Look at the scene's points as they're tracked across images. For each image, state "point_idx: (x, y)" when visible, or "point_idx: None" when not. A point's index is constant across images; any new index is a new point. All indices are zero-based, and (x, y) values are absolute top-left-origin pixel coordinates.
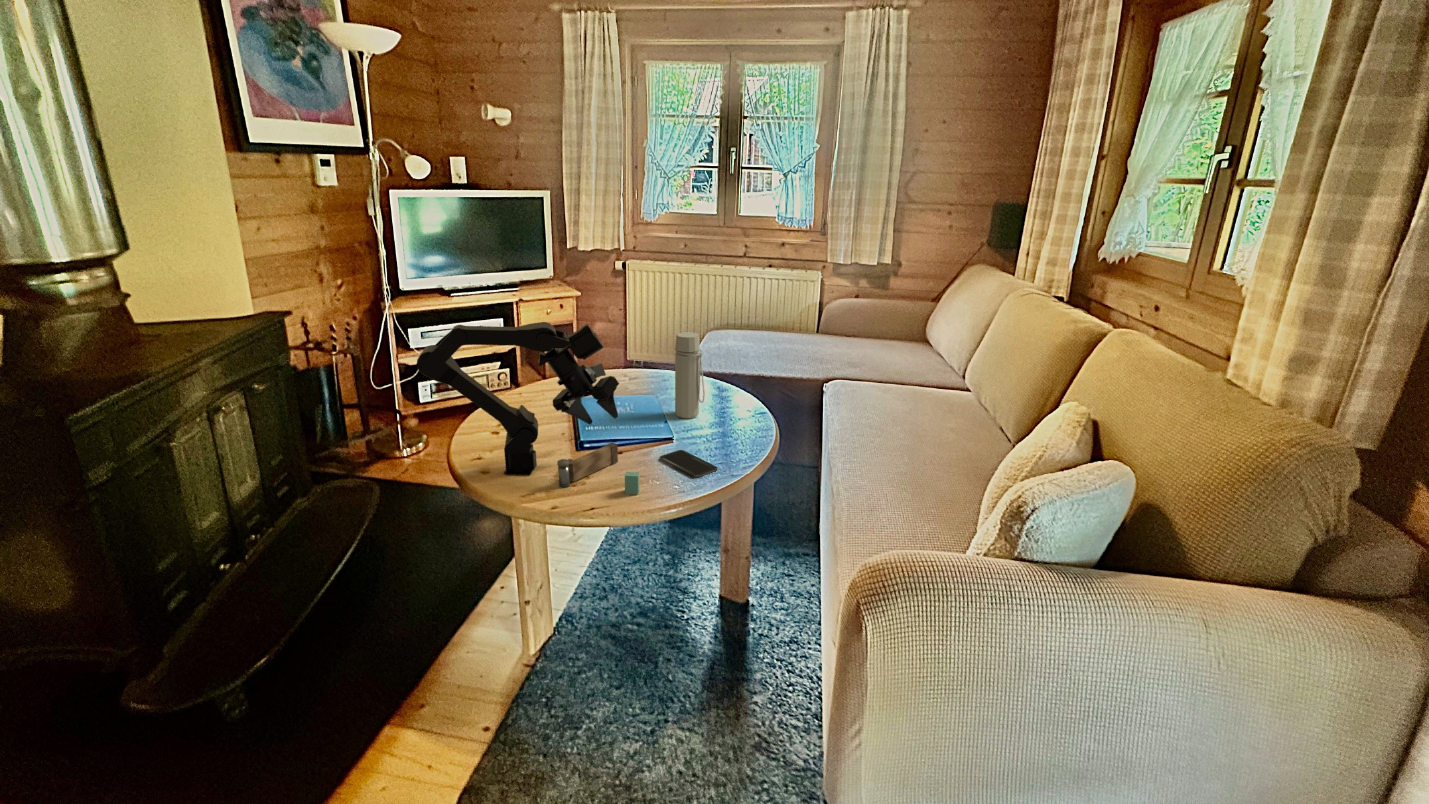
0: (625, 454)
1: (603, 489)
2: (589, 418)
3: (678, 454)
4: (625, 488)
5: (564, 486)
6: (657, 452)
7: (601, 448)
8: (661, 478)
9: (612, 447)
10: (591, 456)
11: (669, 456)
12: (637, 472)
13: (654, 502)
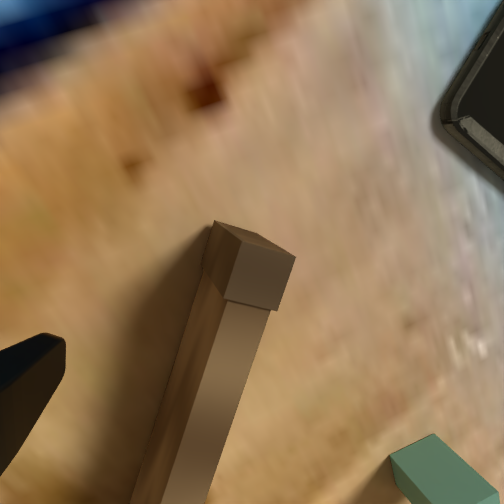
0: (248, 108)
1: (304, 496)
2: (19, 395)
3: None
4: (412, 501)
5: None
6: (408, 21)
7: (217, 359)
8: (487, 307)
9: (277, 305)
10: (210, 480)
11: (489, 85)
12: (494, 499)
13: (500, 480)
